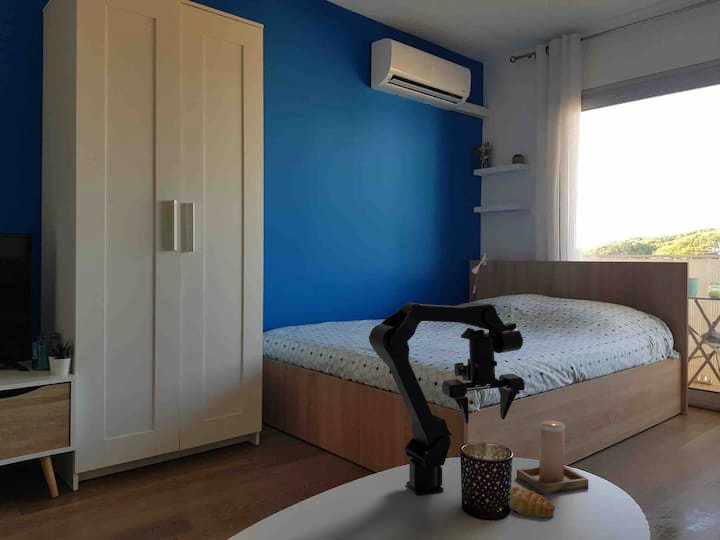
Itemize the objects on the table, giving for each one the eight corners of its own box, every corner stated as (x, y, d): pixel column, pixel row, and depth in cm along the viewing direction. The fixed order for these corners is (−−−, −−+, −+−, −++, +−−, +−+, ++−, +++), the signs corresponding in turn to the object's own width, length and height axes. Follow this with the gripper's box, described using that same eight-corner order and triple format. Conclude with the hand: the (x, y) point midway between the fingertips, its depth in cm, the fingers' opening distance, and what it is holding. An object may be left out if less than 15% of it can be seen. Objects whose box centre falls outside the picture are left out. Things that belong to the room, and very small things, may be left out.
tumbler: (554, 486, 125) (555, 428, 125) (533, 478, 130) (534, 422, 130) (569, 481, 129) (570, 424, 128) (548, 473, 133) (549, 418, 133)
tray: (542, 494, 123) (542, 485, 123) (516, 477, 132) (516, 469, 132) (588, 488, 126) (588, 479, 126) (559, 471, 136) (560, 463, 136)
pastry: (559, 511, 115) (559, 493, 115) (546, 523, 110) (546, 504, 110) (516, 498, 121) (516, 481, 121) (502, 510, 116) (502, 491, 116)
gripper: (503, 346, 142) (505, 407, 143) (432, 353, 139) (435, 415, 139) (524, 354, 131) (527, 420, 132) (449, 362, 128) (452, 430, 128)
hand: (484, 421), depth 133 cm, fingers open, 9 cm apart
